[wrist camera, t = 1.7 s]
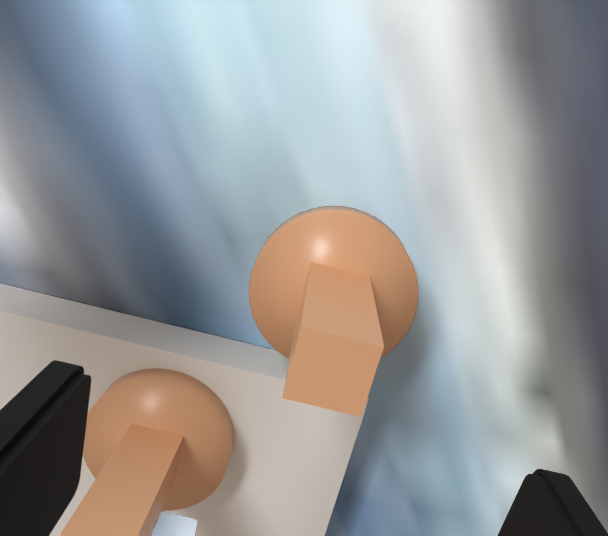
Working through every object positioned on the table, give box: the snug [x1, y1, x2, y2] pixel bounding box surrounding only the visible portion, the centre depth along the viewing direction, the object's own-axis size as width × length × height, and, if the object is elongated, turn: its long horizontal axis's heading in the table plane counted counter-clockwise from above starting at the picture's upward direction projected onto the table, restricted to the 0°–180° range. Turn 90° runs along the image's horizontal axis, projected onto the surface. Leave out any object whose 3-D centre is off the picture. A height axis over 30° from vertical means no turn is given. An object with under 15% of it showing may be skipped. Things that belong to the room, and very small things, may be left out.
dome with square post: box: [249, 206, 418, 417], centre depth 19 cm, size 7×7×10 cm
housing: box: [0, 284, 369, 536], centre depth 23 cm, size 22×16×10 cm
